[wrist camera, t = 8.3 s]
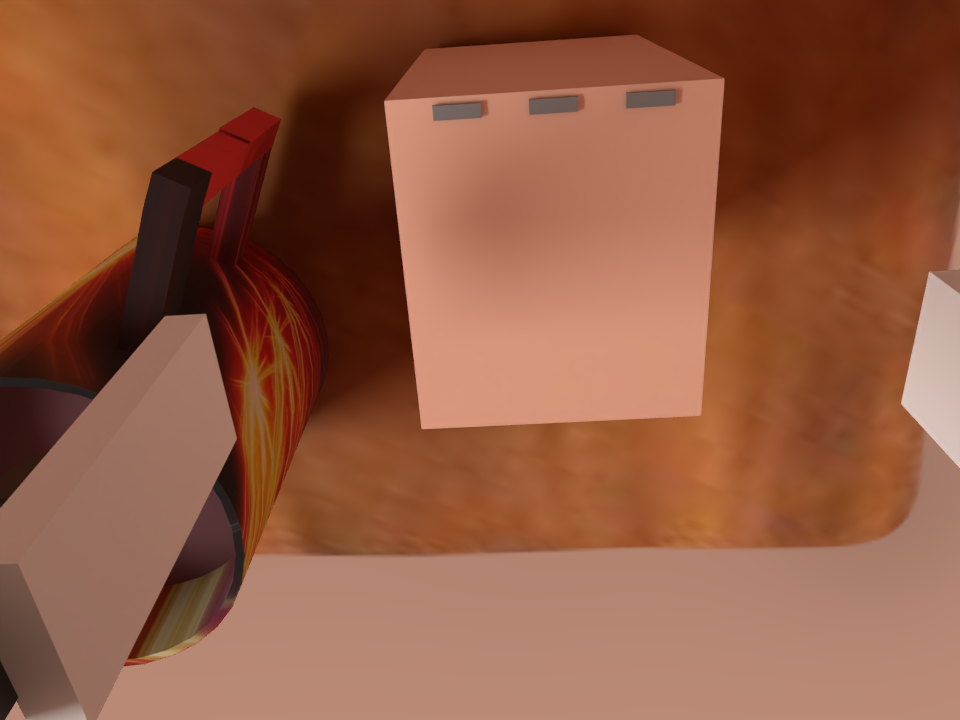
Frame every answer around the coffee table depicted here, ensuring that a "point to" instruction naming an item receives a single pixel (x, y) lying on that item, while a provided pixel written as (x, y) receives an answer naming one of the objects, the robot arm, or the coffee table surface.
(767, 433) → the coffee table surface
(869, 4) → the coffee table surface
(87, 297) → the mug
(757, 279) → the coffee table surface
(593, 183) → the stub
